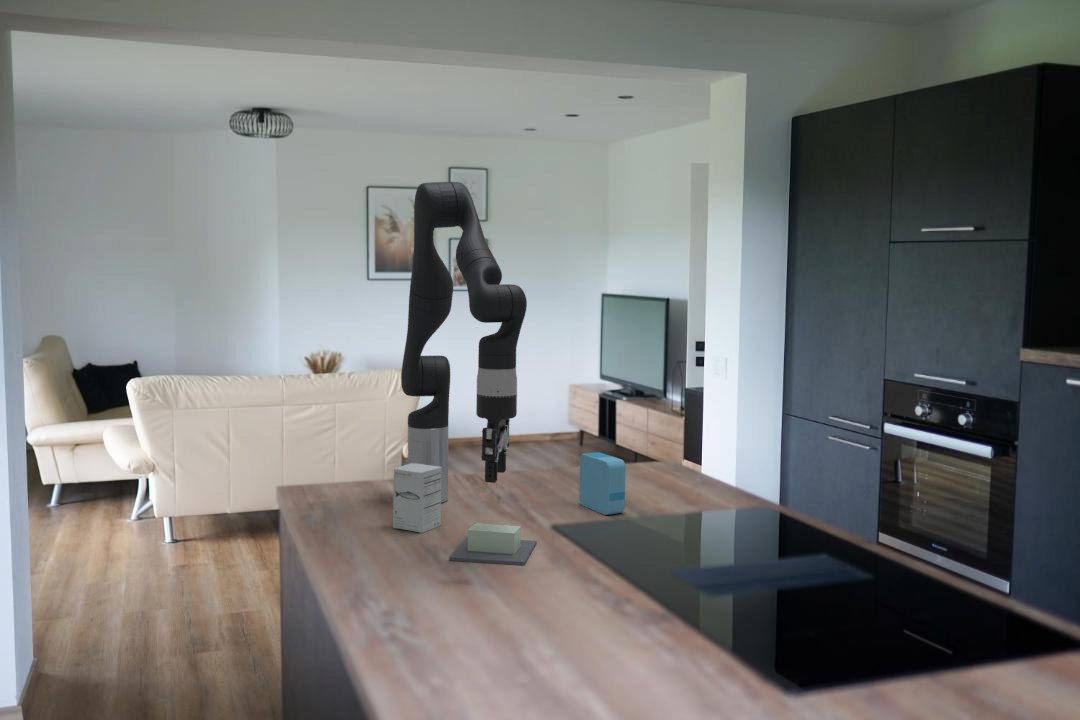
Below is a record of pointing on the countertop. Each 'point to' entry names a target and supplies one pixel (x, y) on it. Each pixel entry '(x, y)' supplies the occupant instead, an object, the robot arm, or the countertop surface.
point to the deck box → (494, 538)
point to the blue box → (602, 483)
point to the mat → (494, 554)
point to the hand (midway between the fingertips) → (495, 477)
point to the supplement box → (417, 497)
